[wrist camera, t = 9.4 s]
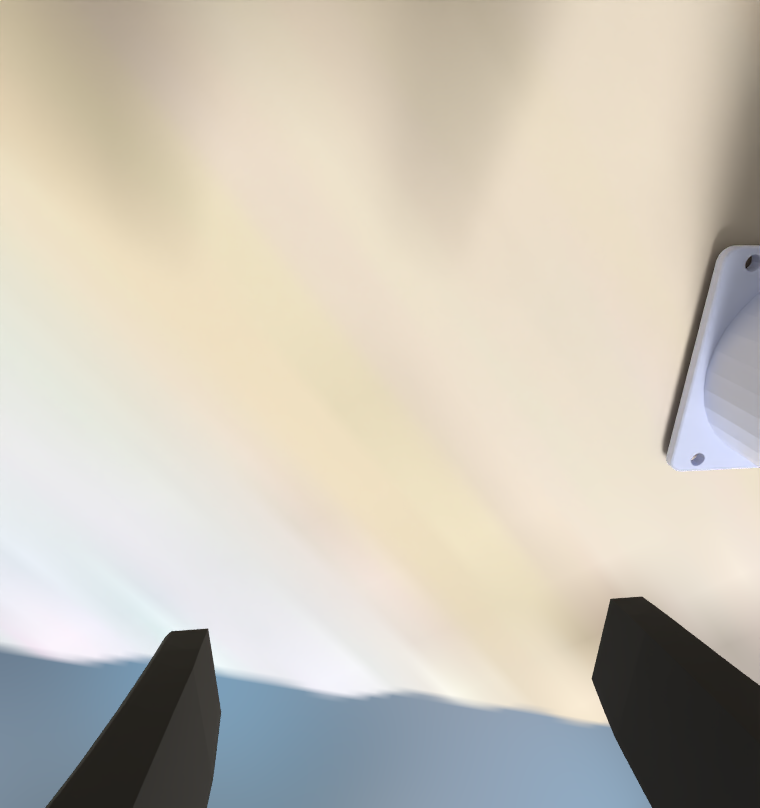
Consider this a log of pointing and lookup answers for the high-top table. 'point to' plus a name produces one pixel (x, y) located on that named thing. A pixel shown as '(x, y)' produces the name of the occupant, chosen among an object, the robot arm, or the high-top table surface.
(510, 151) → the high-top table surface
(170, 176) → the high-top table surface
